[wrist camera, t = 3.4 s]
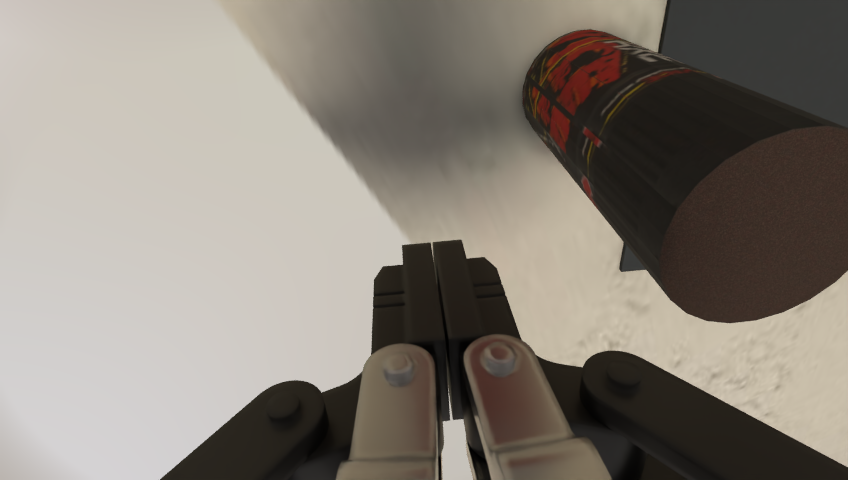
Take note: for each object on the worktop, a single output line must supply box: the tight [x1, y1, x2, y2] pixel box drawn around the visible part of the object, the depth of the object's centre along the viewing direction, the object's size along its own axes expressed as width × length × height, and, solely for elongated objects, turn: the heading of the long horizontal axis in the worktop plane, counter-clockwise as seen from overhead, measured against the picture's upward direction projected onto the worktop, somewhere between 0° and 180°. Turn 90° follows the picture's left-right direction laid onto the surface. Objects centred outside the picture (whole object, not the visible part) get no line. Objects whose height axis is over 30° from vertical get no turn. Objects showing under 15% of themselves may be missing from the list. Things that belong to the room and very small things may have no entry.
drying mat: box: [620, 0, 848, 272], centre depth 27 cm, size 20×15×1 cm
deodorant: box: [523, 30, 848, 323], centre depth 19 cm, size 6×6×15 cm
